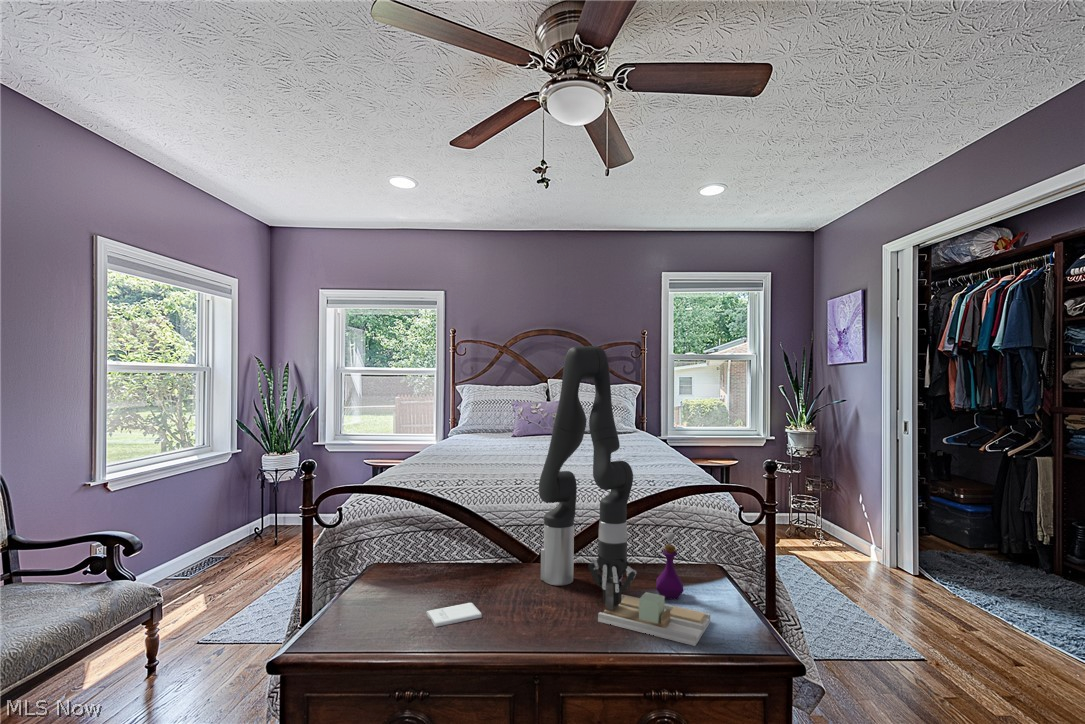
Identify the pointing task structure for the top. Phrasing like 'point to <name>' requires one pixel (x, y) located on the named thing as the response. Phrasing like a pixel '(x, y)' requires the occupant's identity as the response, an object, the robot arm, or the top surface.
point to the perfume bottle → (669, 574)
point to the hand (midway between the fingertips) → (612, 603)
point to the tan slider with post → (629, 609)
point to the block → (651, 607)
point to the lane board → (681, 627)
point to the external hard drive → (453, 614)
